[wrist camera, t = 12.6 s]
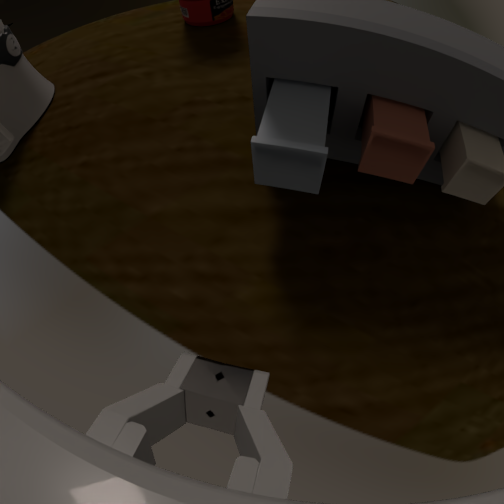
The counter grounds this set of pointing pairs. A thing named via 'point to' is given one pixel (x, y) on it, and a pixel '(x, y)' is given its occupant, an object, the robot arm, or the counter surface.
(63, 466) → the robot arm
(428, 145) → the brick key
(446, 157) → the ivory key
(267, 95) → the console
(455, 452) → the counter surface
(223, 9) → the canned food
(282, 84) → the blue-grey key
